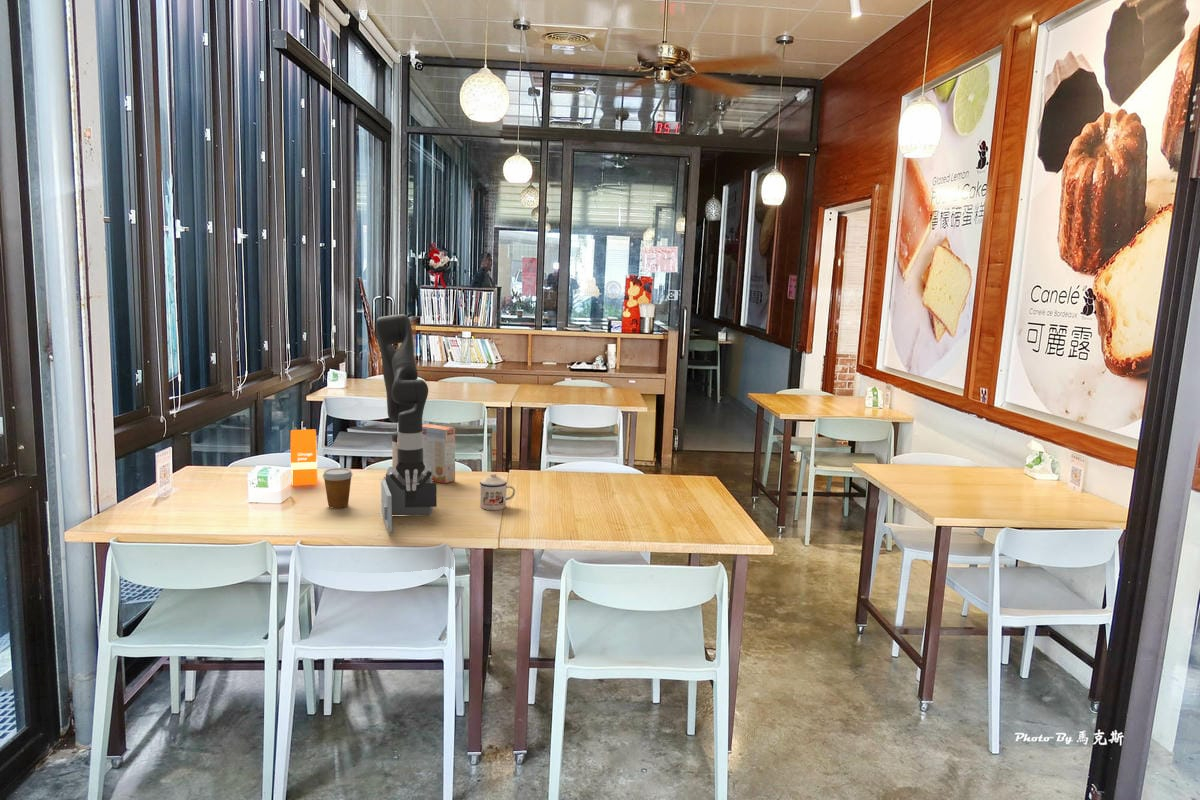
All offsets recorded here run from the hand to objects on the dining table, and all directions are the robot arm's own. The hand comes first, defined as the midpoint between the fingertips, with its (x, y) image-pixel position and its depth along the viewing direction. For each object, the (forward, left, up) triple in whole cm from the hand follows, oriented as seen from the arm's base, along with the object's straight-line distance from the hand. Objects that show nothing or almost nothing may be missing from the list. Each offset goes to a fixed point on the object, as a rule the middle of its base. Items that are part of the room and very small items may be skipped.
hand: (410, 502), depth 237 cm
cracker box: (-63, +5, -10) cm, 64 cm away
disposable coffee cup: (-30, -26, -10) cm, 41 cm away
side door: (-7, -8, -8) cm, 14 cm away
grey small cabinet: (-22, -2, -10) cm, 24 cm away
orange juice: (-61, -43, -10) cm, 75 cm away
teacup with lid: (-26, +27, -10) cm, 39 cm away
